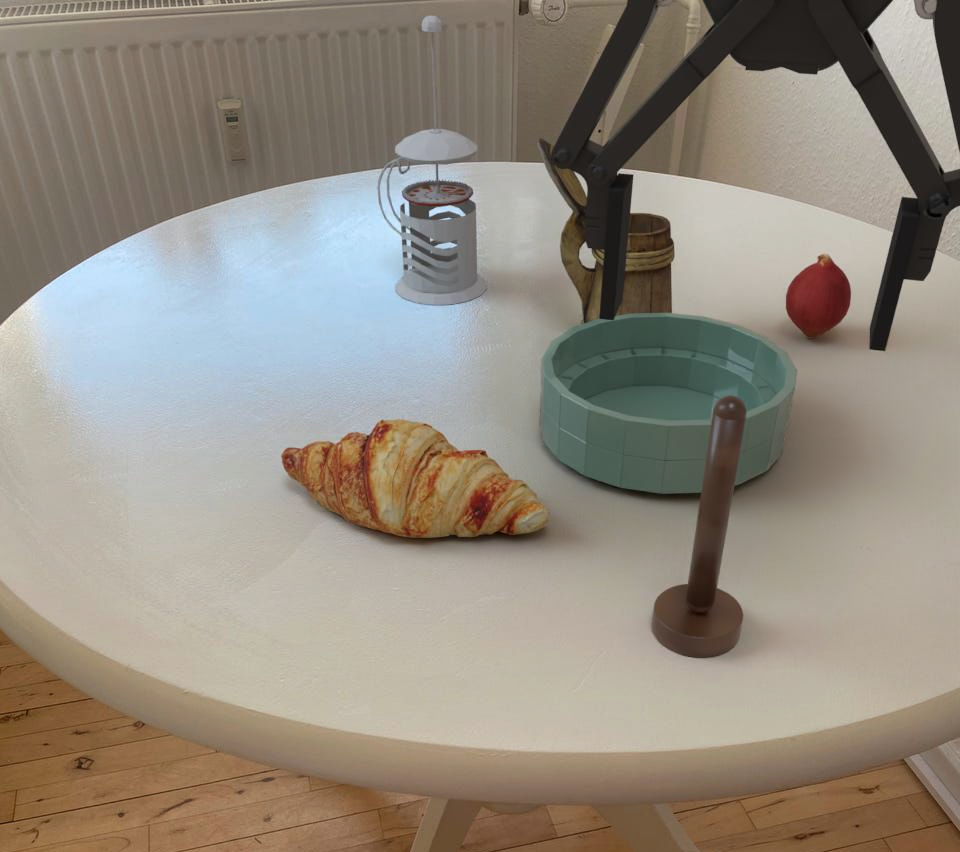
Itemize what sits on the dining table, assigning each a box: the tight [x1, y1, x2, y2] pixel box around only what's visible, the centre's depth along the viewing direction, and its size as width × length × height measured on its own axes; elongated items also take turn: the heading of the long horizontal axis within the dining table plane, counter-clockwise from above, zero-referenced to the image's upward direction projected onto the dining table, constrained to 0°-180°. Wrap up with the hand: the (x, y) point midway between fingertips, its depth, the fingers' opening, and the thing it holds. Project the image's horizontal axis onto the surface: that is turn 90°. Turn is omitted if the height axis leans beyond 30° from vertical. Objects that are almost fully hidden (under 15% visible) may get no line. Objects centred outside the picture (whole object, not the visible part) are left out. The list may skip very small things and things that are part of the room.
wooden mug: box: [537, 137, 676, 325], centre depth 95 cm, size 9×14×18 cm, turn 82°
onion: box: [785, 253, 852, 339], centre depth 99 cm, size 6×6×8 cm
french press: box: [376, 15, 488, 306], centre depth 104 cm, size 10×12×25 cm
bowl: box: [539, 312, 798, 495], centre depth 85 cm, size 20×20×6 cm
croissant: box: [280, 419, 550, 539], centre depth 77 cm, size 21×10×8 cm, turn 71°
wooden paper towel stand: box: [651, 395, 747, 658], centre depth 63 cm, size 6×6×16 cm
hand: (740, 324), depth 55 cm, fingers open, 13 cm apart
